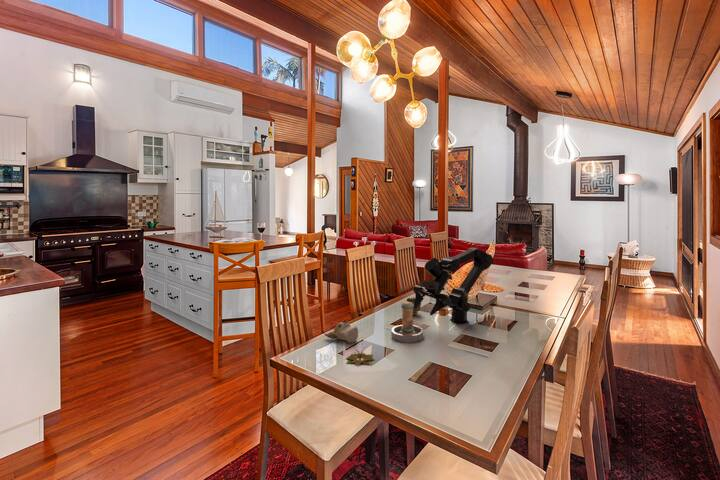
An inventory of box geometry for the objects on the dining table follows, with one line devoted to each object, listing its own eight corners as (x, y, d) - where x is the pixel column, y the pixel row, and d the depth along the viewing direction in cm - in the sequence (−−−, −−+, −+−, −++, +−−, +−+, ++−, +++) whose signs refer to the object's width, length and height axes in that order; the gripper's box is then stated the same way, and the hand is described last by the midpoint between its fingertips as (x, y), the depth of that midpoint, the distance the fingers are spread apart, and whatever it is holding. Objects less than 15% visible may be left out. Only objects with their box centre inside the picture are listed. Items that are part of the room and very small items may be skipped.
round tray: (413, 329, 175) (413, 323, 174) (429, 339, 162) (429, 333, 162) (386, 333, 170) (386, 327, 170) (400, 344, 158) (400, 337, 157)
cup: (420, 317, 192) (420, 301, 191) (406, 316, 193) (406, 301, 192) (421, 312, 199) (421, 297, 198) (407, 311, 201) (407, 297, 200)
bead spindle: (416, 332, 168) (416, 301, 166) (413, 338, 162) (413, 305, 160) (402, 331, 170) (402, 300, 168) (398, 336, 164) (398, 304, 163)
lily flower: (341, 366, 140) (340, 354, 139) (347, 353, 151) (347, 342, 151) (373, 368, 138) (373, 356, 137) (377, 355, 149) (377, 343, 149)
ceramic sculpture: (347, 326, 155) (322, 321, 165) (348, 347, 155) (323, 341, 165) (364, 320, 163) (339, 315, 173) (365, 340, 163) (340, 334, 173)
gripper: (415, 268, 176) (398, 296, 172) (448, 278, 162) (431, 309, 158) (426, 280, 183) (409, 308, 178) (458, 291, 169) (442, 321, 165)
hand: (422, 311), depth 170 cm, fingers open, 9 cm apart
